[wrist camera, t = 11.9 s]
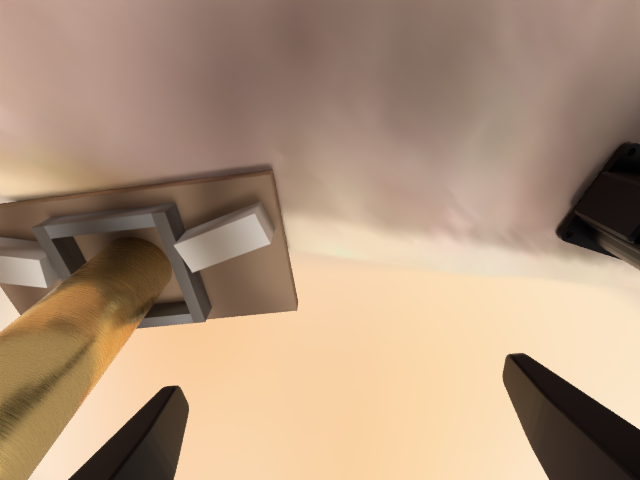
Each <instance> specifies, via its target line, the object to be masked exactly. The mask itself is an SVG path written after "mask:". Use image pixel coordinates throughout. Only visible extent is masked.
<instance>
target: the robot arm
mask: <svg viewBox="0 0 640 480" xmlns="http://www.w3.org/2000/svg"><path fill="white" fill-rule="evenodd" d="M629 149H630V151H629V153H628V154H626V153H627V151H628V150H629ZM567 232H569V233H568V234H567V235H565V234H566V233H567ZM557 236H558V237H559V238H560V239H562V240H563V241H565V242H568V243H572V244H575V245H578V246H581V247H584V248H587V249H590V250H593V251H596V252H599V253H602V254H605V255H608V256H612V257H615V258H618V259H621V260H624V261H625V262H627V263H629V264H630V265H632V266H634V267H635V268H637V269H639V270H640V144H637V143H632V142H627V143H624V144H622V145H621V146H620V147H619V148H618V149H617V150H616V152H615V153H614V155H613V156H612V157H611V159H610V160H609V161H608V163H607V164H606V166H605V167H604V168H603V170H602V171H601V172H600V174H599V175H598V176H597V178H596V179H595V181H594V182H593V183H592V185H591V186H590V187H589V189H588V190H587V192H586V193H585V194H584V196H583V197H582V198H581V200H580V201H579V202H578V204H577V205H576V207H575V208H574V209H573V211H572V212H571V213H570V215H569V216H568V218H567V219H566V220H565V222H564V223H563V224H562V226H561V227H560V228H559V230H558V232H557ZM503 382H504V385H505V387H506V390H507V392H508V394H509V397H510V399H511V401H512V404H513V406H514V408H515V411H516V413H517V415H518V418H519V420H520V422H521V425H522V427H523V429H524V432H525V434H526V436H527V438H528V440H529V443H530V445H531V447H532V449H533V451H534V453H535V455H536V456H537V458H538V460H539V462H540V463H541V466H542V467H543V469H544V471H545V473H546V475H547V476H548V478H549V480H640V430H639V429H638V428H636V427H635V426H633V425H632V424H630V423H629V422H627V421H626V420H624V419H623V418H621V417H620V416H618V415H617V414H615V413H614V412H612V411H611V410H609V409H608V408H606V407H604V406H603V405H601V404H600V403H599V402H597V401H596V400H594V399H593V398H591V397H590V396H588V395H586V394H585V393H584V392H582V391H581V390H579V389H578V388H576V387H575V386H573V385H572V384H570V383H569V382H567V381H565V380H564V379H563V378H561V377H559V376H558V375H556V374H555V373H554V372H552V371H550V370H549V369H547V368H546V367H544V366H543V365H541V364H540V363H538V362H537V361H535V360H534V359H532V358H531V357H529V356H528V355H526V354H524V353H515V354H509V355H507V357H506V359H505V365H504V370H503ZM188 412H189V405H188V402H187V400H186V398H185V396H184V394H183V392H182V390H181V388H180V387H179V386H167V387H163V388H162V389H161V390H160V391H159V392H158V393H157V394H156V395H155V396H154V397H152V399H150V400H149V401H148V402H147V403H146V404H145V405H144V406H143V407H142V408H141V409H140V410H139V411H138V412H137V413H136V414H135V415H134V416H133V417H132V418H131V419H130V420H129V421H128V422H127V423H126V424H125V425H124V426H123V427H122V428H121V429H120V430H119V431H118V432H117V433H116V434H115V435H114V436H113V437H112V438H110V439H109V440H108V441H107V442H106V443H105V444H104V445H103V446H102V447H101V448H100V449H99V450H98V451H97V452H96V453H95V454H94V455H93V456H92V457H91V458H90V459H89V460H88V461H87V462H86V463H85V464H84V465H83V466H82V467H81V468H80V469H79V470H78V471H77V472H76V473H75V474H74V475H72V476H71V478H69V479H68V480H174V476H175V473H176V469H177V464H178V460H179V455H180V450H181V446H182V441H183V436H184V432H185V427H186V423H187V418H188Z"/></svg>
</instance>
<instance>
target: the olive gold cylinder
mask: <svg viewBox="0 0 640 480" xmlns="http://www.w3.org/2000/svg"><path fill="white" fill-rule="evenodd" d="M171 275H172V269H171V265H170V262H169V260H168V258H167V257H166V255H165V254H164V253H163V252H162V251H161V250H160V249H159V248H158V247H157V246H155V245H154V244H152V243H150V242H148V241H146V240H143V239H140V238H135V237H123V238H119V239H116V240H114V241H112V242H111V243H110V244H108V245H107V246H106V247H105V248H103V249H102V250H101V251H100V252H99V253H97V254H96V255H95V256H94V257H92V258H91V259H90V260H89V261H87V262H86V263H85V264H84V265H82V266H81V267H80V268H79V269H78V270H76V271H75V272H74V273H73V274H71V275H70V276H69V277H68V278H66V279H65V280H64V281H63V282H62V283H60V284H59V285H58V286H57V287H55V288H54V289H53V290H52V291H50V292H49V293H48V294H47V295H46V296H44V297H43V298H42V299H41V300H39V301H38V302H37V303H36V304H34V305H33V306H32V307H31V308H30V309H28V310H27V311H26V312H25V313H23V314H22V315H21V316H20V317H19V318H17V319H16V320H15V321H14V322H12V323H11V324H10V325H9V326H7V327H6V328H5V329H4V330H3V331H1V332H0V480H28V478H29V477H30V475H31V474H32V473H33V471H34V470H35V469H36V467H37V466H38V464H39V463H40V462H41V460H42V459H43V457H44V456H45V455H46V453H47V452H48V450H49V449H50V448H51V446H52V445H53V443H54V442H55V441H56V439H57V438H58V436H59V435H60V434H61V432H62V431H63V429H64V428H65V427H66V425H67V424H68V423H69V421H70V420H71V418H72V417H73V416H74V414H75V413H76V411H77V410H78V409H79V407H80V406H81V404H82V403H83V402H84V400H85V399H86V397H87V396H88V395H89V393H90V392H91V390H92V389H93V388H94V386H95V385H96V384H97V382H98V381H99V379H100V378H101V377H102V375H103V374H104V372H105V371H106V370H107V368H108V367H109V365H110V364H111V363H112V361H113V360H114V358H115V357H116V356H117V354H118V353H119V351H120V350H121V349H122V347H123V346H124V344H125V343H126V342H127V340H128V339H129V337H130V336H131V334H132V333H133V332H134V330H135V329H136V328H137V326H138V325H139V324H140V322H141V321H142V319H143V318H144V317H145V315H146V314H147V312H148V311H149V310H150V308H151V307H152V305H153V304H154V303H155V301H156V300H157V298H158V297H159V296H160V294H161V293H162V291H163V290H164V289H165V287H166V286H167V284H168V283H169V281H170V279H171Z"/></svg>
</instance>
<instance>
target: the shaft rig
mask: <svg viewBox="0 0 640 480" xmlns="http://www.w3.org/2000/svg"><path fill="white" fill-rule="evenodd" d="M123 237H135V238H140V239H143V240H146V241H148V242H150V243H152V244H154V245H155V246H157V247H158V248H159V249H160V250H161V251H162V252H163V253H164V254H165V255H166V257H167V258H168V260H169V262H170V265H171V269H172V275H171V279H170V281H169V283H168V284H167V286H166V287H165V289H164V290H163V291H162V293H161V294H160V296H159V297H158V298H157V300H156V301H155V303H154V304H153V305H152V307H151V308H150V310H149V311H148V312H147V314H146V315H145V317H144V318H143V319H142V321H141V322H140V324H139V325H138V326H137V328H147V327H157V326H168V325H177V324H188V323H199V322H205V321H206V319H215V318H225V317H235V316H246V315H256V314H266V313H276V312H286V311H297V306H298V299H297V294H296V289H295V284H294V278H293V273H292V268H291V263H290V258H289V253H288V247H287V242H286V237H285V232H284V227H283V221H282V216H281V211H280V206H279V201H278V196H277V190H276V185H275V180H274V175H273V170H269V171H261V172H253V173H245V174H237V175H229V176H221V177H212V178H204V179H196V180H188V181H180V182H172V183H164V184H156V185H148V186H140V187H132V188H124V189H115V190H107V191H99V192H91V193H83V194H75V195H67V196H59V197H51V198H43V199H35V200H27V201H18V202H10V203H2V204H0V286H1V288H2V289H3V291H4V292H5V294H6V295H7V296H8V298H9V299H10V301H11V302H12V304H13V305H14V306H15V308H16V309H17V311H18V312H19V313H20V315H22V314H23V313H25V312H26V311H27V310H28V309H30V308H31V307H32V306H33V305H34V304H36V303H37V302H38V301H39V300H41V299H42V298H43V297H44V296H46V295H47V294H48V293H49V292H50V291H52V290H53V289H54V288H55V287H57V286H58V285H59V284H60V283H62V282H63V281H64V280H65V279H66V278H68V277H69V276H70V275H71V274H73V273H74V272H75V271H76V270H78V269H79V268H80V267H81V266H82V265H84V264H85V263H86V262H87V261H89V260H90V259H91V258H92V257H94V256H95V255H96V254H97V253H99V252H100V251H101V250H102V249H103V248H105V247H106V246H107V245H108V244H110V243H111V242H112V241H114V240H116V239H119V238H123ZM137 328H136V329H137Z"/></svg>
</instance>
